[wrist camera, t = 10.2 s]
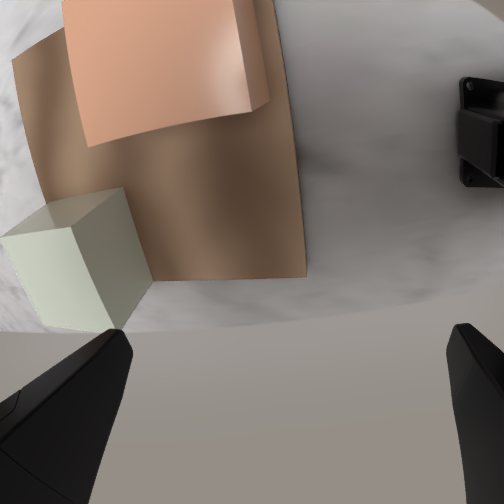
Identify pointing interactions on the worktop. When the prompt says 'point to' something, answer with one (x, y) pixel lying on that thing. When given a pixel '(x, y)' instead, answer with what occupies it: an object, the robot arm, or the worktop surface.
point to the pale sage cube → (81, 261)
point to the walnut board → (180, 171)
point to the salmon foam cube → (162, 63)
